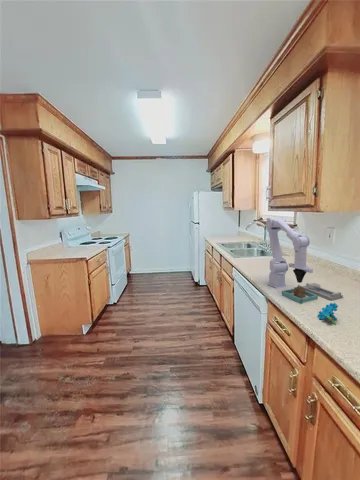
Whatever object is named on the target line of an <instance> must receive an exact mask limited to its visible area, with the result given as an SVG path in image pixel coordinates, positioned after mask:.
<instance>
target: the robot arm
mask: <svg viewBox="0 0 360 480" xmlns="http://www.w3.org/2000/svg"><path fill="white" fill-rule="evenodd" d="M265 225H266V231H267V232H268V236H269V237H268V238H269V242H270V247H271V253H272V254H271V255H272V258H271V260H270V261H269V270H270V272H269V274H268V283H267V285H269V286H271V287H272V288H275V289H281V288H287V287H289V286H288V285H285V283H286V282H285V281H286V274H287V271H288V270H289V268H293V270H292V272H293V273H294V276H295V278H296V282H297V283H299V284H300V283H301V284H302V283H303V280H304V277H305V276H306V274H307V273H308V274H312V273H313V272H314V270H313V269H314V268H310V267H309V266H308V265H307V255H308V253H307V251H308V249H307V248H308V247H309V246H310V238H309V236H307V235H303V234H301V233H300V232H299V231H298V230H297V229H296V228H292V227H291V226H290V225H289V224H288V223H287V222H286V219H285V218H284V217H283V216H280V217H268V218H267V219H266V221H265ZM281 230H282V231H284V232H285V233H286V237H287V238H288V239H289V240H290V241H291V242H292V246H293V250H294V263H291V262H290V263H288V262H287V260H286V259H285V258H284V257H283V256H282V249H281V245H280V241H279V234H278V233H279V232H280V231H281Z"/></svg>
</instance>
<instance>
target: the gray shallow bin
mask: <svg viewBox="0 0 360 480" xmlns="http://www.w3.org/2000/svg"><path fill="white" fill-rule="evenodd" d="M308 284H310V283H308V282H307V283H306V285H300V284H298V285H297V287H299V286H300V287H302V288H305V291H307V292H309V293H312V294H315V295H317V296H318V297H319V298H321V299H324V300H327V301H328V302H332V301H333V302H334V301H337V300H340V299H344V295H343V294H342V292H335V291H331V290H329V289H326V288H322V287H320V291H314V290H311V289H309V288H308Z"/></svg>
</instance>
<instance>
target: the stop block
mask: <svg viewBox="0 0 360 480" xmlns="http://www.w3.org/2000/svg"><path fill="white" fill-rule="evenodd" d="M293 289H294V292H293V295H294V296H296V297H298V298H301V299H302V298H306V295H305V288H302V287H300V286H299V287H298V286H296V287H293Z"/></svg>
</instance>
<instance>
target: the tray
mask: <svg viewBox="0 0 360 480" xmlns="http://www.w3.org/2000/svg"><path fill="white" fill-rule="evenodd" d="M292 293H293V294H292ZM281 296H283V297H285V298H286V299H289V300H291V301H294V302H296V303H297V304H300V305H302V304H304V303H306V302H307V303H308V302H311V301H316V300H318V297H319V296H317V295H315V294H312V293H309V292H307V291H305V296H307V297H304V298H298V297H296V296H294V288H291V289H286V290H285V289H284V290H281Z"/></svg>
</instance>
